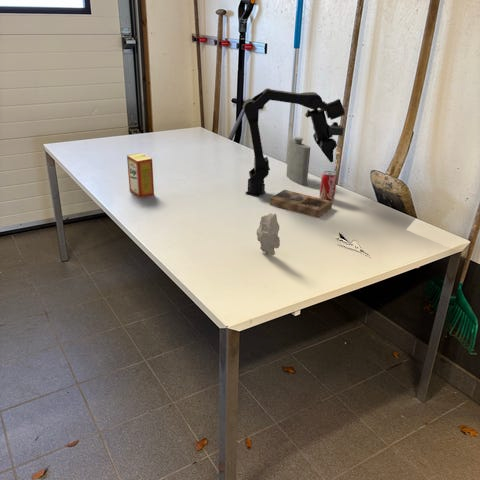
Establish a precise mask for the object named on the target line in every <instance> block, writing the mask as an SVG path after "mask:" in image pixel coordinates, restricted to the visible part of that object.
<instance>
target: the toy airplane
mask: <svg viewBox="0 0 480 480" xmlns="http://www.w3.org/2000/svg"><path fill="white" fill-rule="evenodd" d="M338 235H339V238H340V239H341V240H343V241H345V242H346V243H348V244H349V245H351V246H353V247H355V248H356V249H358V250H360V251H361V252H363V253H365V254H367V255H369V253H367V252H366V251H364V250H363V249H362V248H361V249H359V248H358V247H356V246H354V245H353V244H351V243H352V242H349V241H348V240H347V238H346V237H345V236H344V235H343V234H342V233H340V232H338ZM337 238H338V237H337ZM339 238H338V239H339ZM338 239H337V240H338ZM341 240H340V241H341ZM343 241H342V242H343ZM345 242H344V243H345ZM346 243H345V244H346ZM348 244H347V245H348ZM361 252H360V253H361Z"/></svg>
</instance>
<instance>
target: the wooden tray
mask: <svg viewBox="0 0 480 480" xmlns="http://www.w3.org/2000/svg"><path fill="white" fill-rule="evenodd" d="M269 205H270V206H271V207H272V206H274V207H277V208H280V209H284V210H288V211H292V212H296V213H299V214H303V215H306V216H310V217H314V218H317V219H320V218H321V217H323V216H324V215H325V214H326V213H327V212H329V211H330V210H331V209H332V208H333V207H332V206H333V201H328V200H324V199H320V198H319V197H316V196H311V195H308V194H307V195H306V194H303V193H299V192H297V191H290V190H287V189H283V190H281V191H279V192H278V193H276V194H275V195H273V196H271V197H270V198H269Z"/></svg>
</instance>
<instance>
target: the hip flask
mask: <svg viewBox="0 0 480 480" xmlns="http://www.w3.org/2000/svg"><path fill="white" fill-rule="evenodd" d="M303 140H304V138H303V137H300V136H298V137H297V136H296V137H294V138H290V139H288V150H287V152H288V153H287V164H286V173H285V174H286V177H287V178H288V179H289V180H290V181H292V182H293V183H296V184H297V185H299V186H302V187H306V186H308V178H309V177H308V174H309V167H310V166H309V165H310V157H311V146H309V145H306V144H304V143H303Z"/></svg>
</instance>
